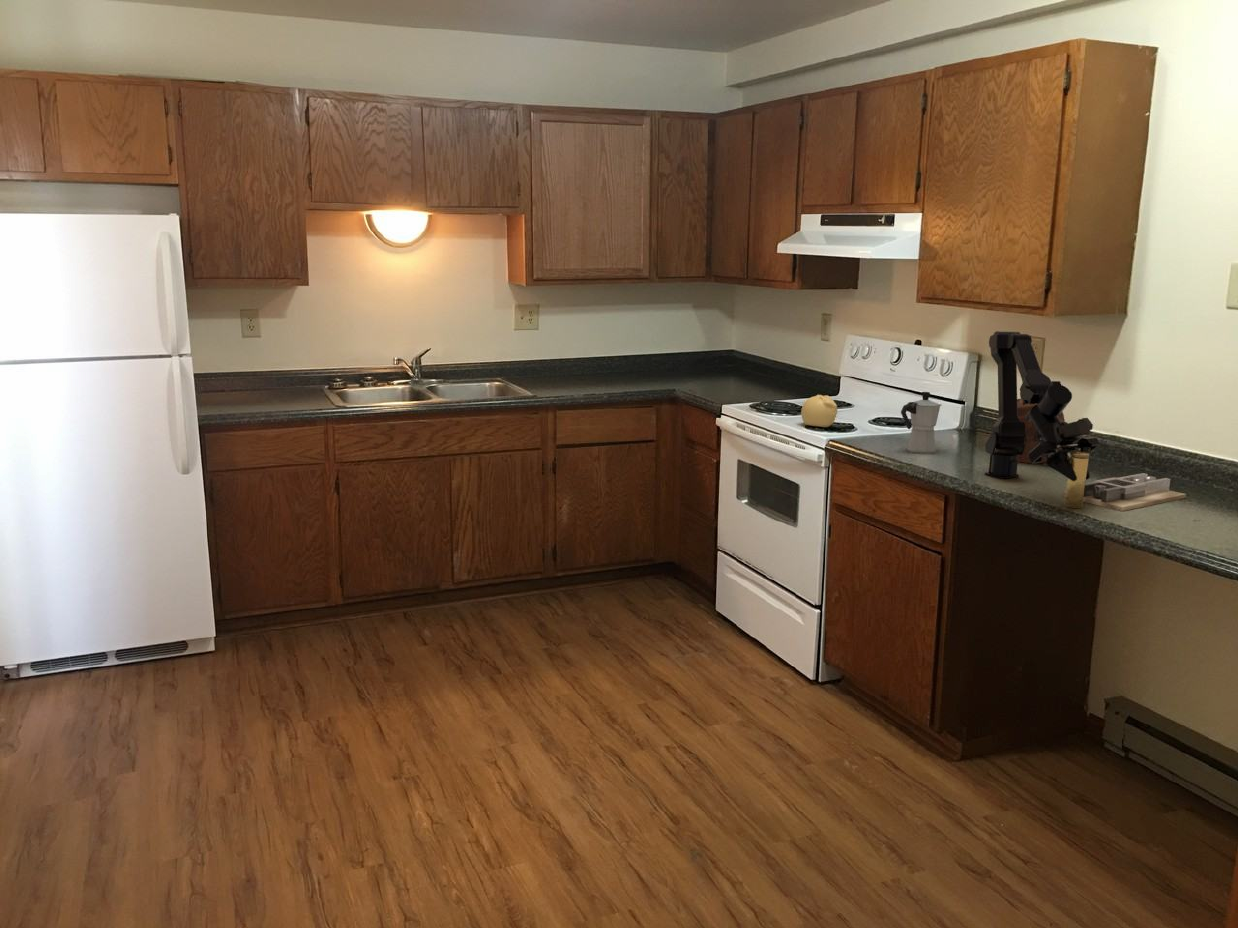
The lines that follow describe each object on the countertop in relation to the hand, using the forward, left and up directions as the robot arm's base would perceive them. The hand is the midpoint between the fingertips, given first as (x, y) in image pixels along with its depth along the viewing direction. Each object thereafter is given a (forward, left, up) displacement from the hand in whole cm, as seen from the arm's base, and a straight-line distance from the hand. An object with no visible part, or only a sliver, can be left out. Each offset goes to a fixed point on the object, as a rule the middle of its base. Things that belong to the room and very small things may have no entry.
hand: (1081, 479), depth 239 cm
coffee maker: (-65, +17, -7) cm, 68 cm away
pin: (-1, 0, -7) cm, 7 cm away
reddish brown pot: (-43, +38, -7) cm, 58 cm away
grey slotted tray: (-1, +21, -6) cm, 22 cm away
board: (-1, +21, -7) cm, 22 cm away
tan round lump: (-110, +18, -7) cm, 112 cm away
